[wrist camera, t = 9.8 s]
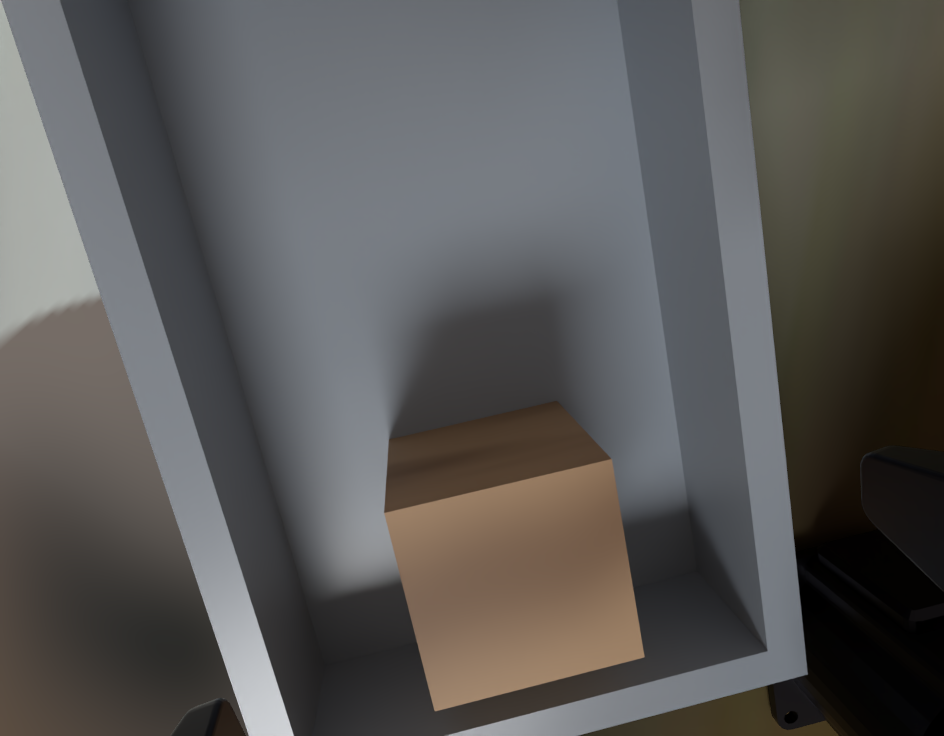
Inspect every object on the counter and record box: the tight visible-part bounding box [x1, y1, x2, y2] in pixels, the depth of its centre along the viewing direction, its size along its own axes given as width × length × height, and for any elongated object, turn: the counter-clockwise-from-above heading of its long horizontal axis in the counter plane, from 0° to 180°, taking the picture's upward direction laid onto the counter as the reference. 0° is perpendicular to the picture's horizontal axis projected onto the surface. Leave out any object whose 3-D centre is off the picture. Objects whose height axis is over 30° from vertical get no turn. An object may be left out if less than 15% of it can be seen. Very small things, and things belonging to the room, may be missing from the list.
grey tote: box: [1, 0, 808, 736], centre depth 16 cm, size 22×14×5 cm, turn 12°
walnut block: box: [384, 401, 644, 711], centre depth 17 cm, size 5×5×5 cm
